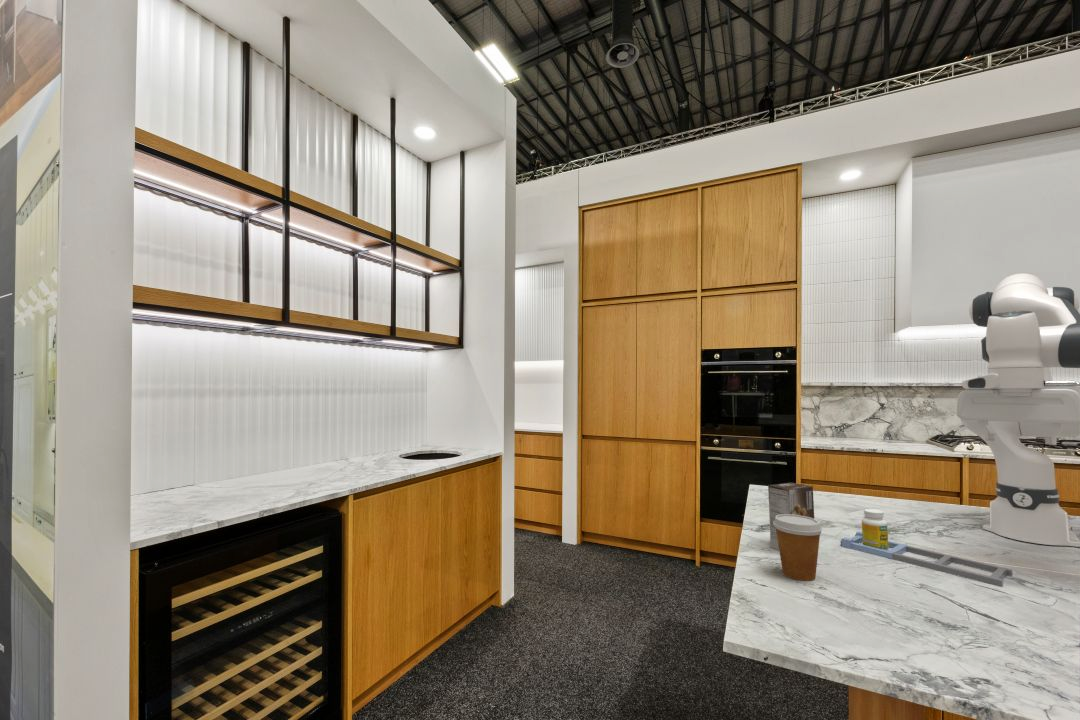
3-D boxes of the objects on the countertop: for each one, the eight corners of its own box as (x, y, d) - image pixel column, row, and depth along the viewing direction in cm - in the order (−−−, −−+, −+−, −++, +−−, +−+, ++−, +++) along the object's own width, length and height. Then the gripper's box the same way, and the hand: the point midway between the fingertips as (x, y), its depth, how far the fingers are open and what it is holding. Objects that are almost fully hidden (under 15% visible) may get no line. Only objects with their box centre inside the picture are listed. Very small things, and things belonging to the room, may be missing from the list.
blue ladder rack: (857, 538, 124) (857, 530, 124) (1013, 574, 100) (1012, 565, 100) (839, 546, 118) (839, 538, 118) (1001, 587, 93) (1000, 577, 94)
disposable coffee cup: (819, 588, 93) (816, 528, 93) (768, 575, 99) (767, 519, 100) (828, 574, 100) (826, 519, 100) (781, 563, 106) (779, 511, 107)
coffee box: (793, 542, 121) (791, 481, 122) (816, 550, 115) (814, 486, 116) (769, 547, 117) (767, 484, 118) (792, 555, 111) (789, 489, 112)
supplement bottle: (868, 543, 120) (866, 507, 120) (892, 549, 115) (890, 511, 116) (859, 547, 117) (857, 509, 118) (883, 553, 112) (881, 514, 113)
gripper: (1088, 380, 96) (1093, 446, 95) (960, 381, 112) (963, 437, 112) (1085, 380, 92) (1090, 448, 91) (952, 381, 109) (956, 439, 108)
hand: (1019, 442), depth 101 cm, fingers open, 8 cm apart
